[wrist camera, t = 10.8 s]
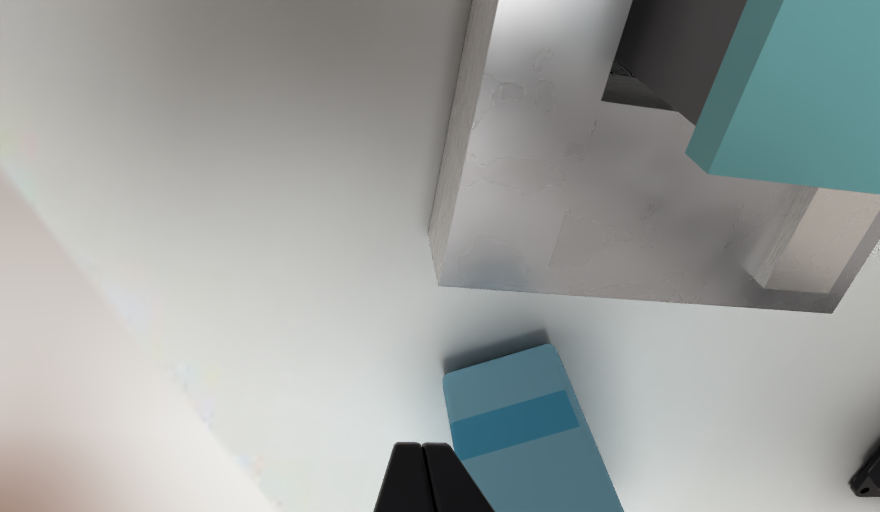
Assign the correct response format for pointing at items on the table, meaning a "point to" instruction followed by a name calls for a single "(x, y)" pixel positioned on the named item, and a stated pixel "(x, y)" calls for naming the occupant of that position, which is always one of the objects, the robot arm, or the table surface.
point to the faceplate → (615, 182)
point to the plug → (767, 85)
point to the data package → (527, 435)
